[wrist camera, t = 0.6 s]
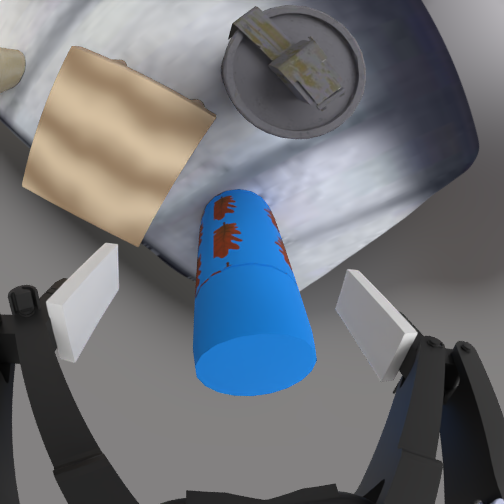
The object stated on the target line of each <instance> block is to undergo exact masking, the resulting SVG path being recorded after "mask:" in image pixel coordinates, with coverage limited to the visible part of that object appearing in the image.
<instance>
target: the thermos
mask: <svg viewBox="0 0 504 504" xmlns="http://www.w3.org/2000/svg"><path fill="white" fill-rule="evenodd" d="M193 353H194V361H195V368H196V375H197V378H198V379H199V380H200V381H201V382H202V383H203V384H204V385H205V386H207V387H209V388H211V389H213V390H215V391H217V392H220V393H224V394H229V395H234V396H256V395H263V394H270V393H273V392H276V391H280V390H283V389H286V388H288V387H290V386H292V385H294V384H296V383H297V382H299V381H301V380H302V379H304V378H305V377H306V376H307V375H308V374H309V373H310V372H311V371H312V369H313V367H314V365H315V363H316V361H317V358H316V351H315V344H314V339H313V335H312V330H311V327H310V324H309V321H308V318H307V314H306V312H305V308H304V305H303V302H302V299H301V296H300V292H299V289H298V286H297V283H296V280H295V277H294V274H293V271H292V268H291V265H290V262H289V259H288V256H287V253H286V250H285V247H284V244H283V241H282V238H281V236H280V233H279V230H278V227H277V224H276V221H275V218H274V216H273V214H272V212H271V210H270V208H269V206H268V205H267V203H266V202H265V201H264V200H263V198H262V197H260V196H258V195H257V194H255V193H253V192H251V191H246V190H241V189H237V190H229V191H225V192H223V193H221V194H219V195H217V196H215V197H214V198H213V199H212V200H211V201H210V202H209V203H208V204H207V206H206V208H205V211H204V213H203V216H202V221H201V226H200V233H199V246H198V259H197V274H196V291H195V311H194V335H193Z"/></svg>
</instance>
